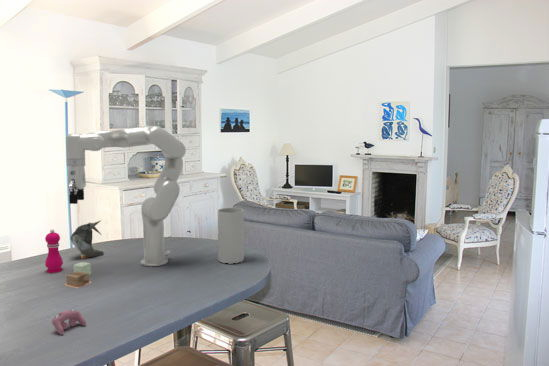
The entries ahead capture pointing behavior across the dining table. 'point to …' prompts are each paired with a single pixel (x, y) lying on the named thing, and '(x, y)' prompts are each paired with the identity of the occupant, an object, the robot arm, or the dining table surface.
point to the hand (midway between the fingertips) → (76, 201)
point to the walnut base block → (77, 278)
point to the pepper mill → (53, 253)
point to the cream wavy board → (78, 286)
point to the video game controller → (69, 314)
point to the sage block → (82, 267)
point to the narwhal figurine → (85, 240)
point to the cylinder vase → (230, 235)
